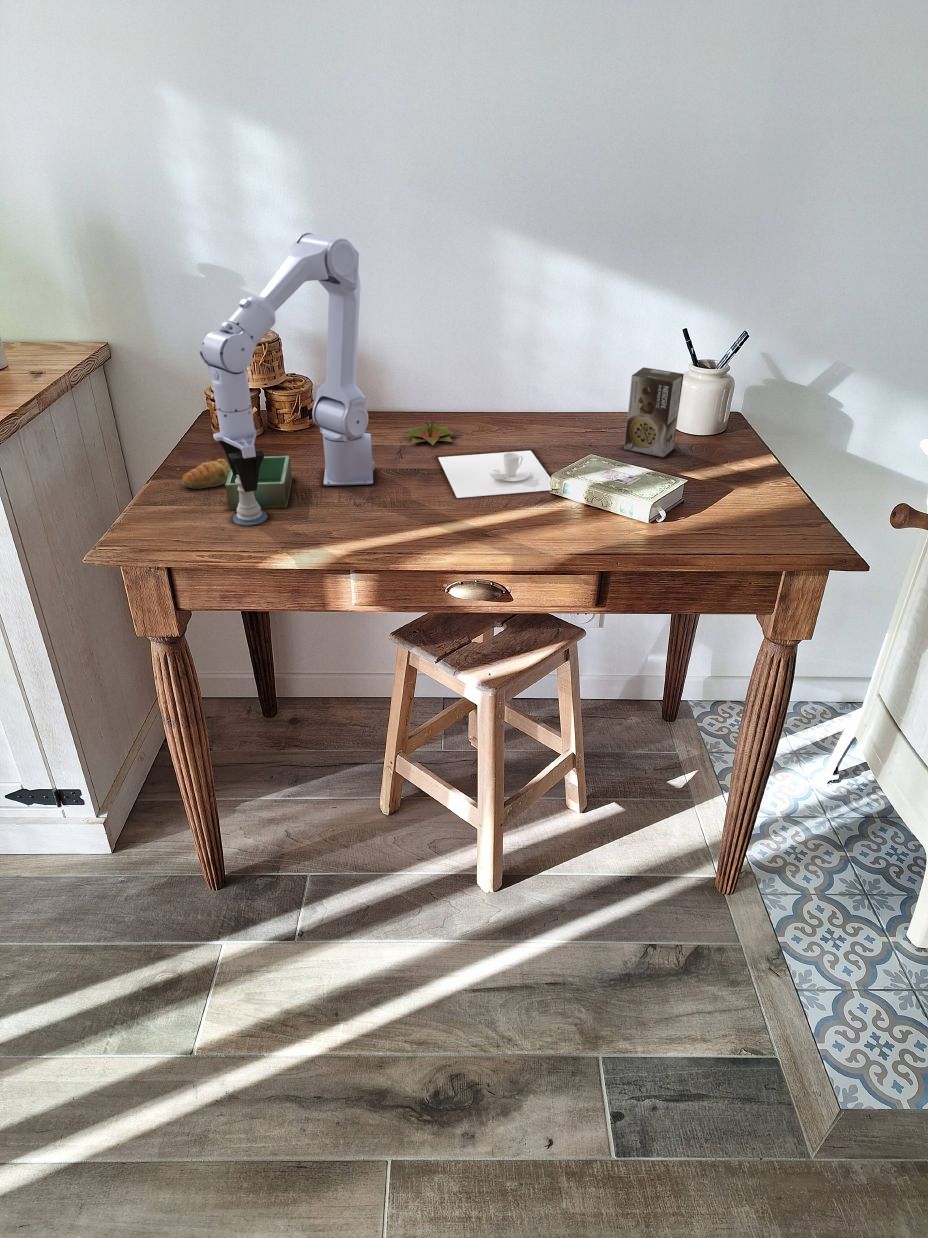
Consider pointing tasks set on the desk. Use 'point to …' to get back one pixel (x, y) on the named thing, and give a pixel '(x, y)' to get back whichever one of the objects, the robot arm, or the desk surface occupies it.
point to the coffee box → (653, 411)
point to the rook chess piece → (247, 504)
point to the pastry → (207, 475)
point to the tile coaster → (249, 523)
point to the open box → (266, 484)
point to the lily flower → (430, 433)
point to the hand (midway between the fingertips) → (245, 482)
